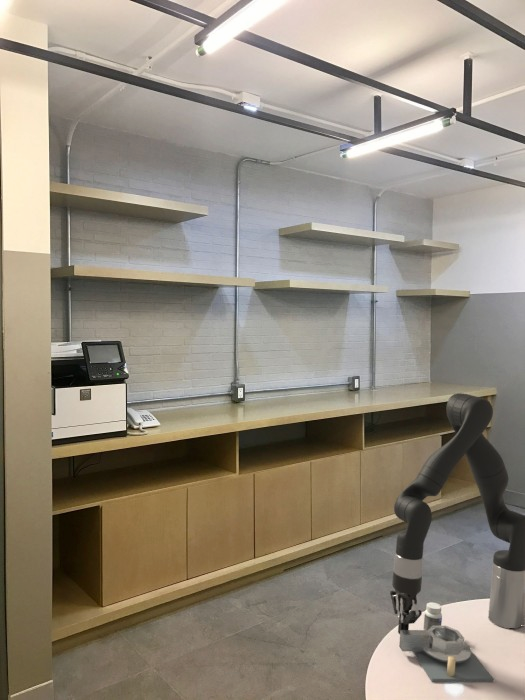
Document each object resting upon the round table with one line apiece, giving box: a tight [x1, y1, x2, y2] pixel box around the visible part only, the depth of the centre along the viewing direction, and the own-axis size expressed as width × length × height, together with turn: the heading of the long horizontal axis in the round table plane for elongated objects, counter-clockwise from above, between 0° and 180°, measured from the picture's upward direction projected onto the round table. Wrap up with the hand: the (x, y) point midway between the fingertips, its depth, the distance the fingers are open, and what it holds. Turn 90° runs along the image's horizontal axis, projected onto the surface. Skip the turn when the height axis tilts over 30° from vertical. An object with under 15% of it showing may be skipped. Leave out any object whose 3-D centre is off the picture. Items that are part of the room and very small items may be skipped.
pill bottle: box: [422, 602, 443, 631], centre depth 163 cm, size 5×5×8 cm
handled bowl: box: [399, 625, 472, 663], centre depth 152 cm, size 18×13×4 cm
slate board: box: [411, 650, 495, 683], centre depth 150 cm, size 16×18×5 cm
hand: (402, 634), depth 155 cm, fingers closed
